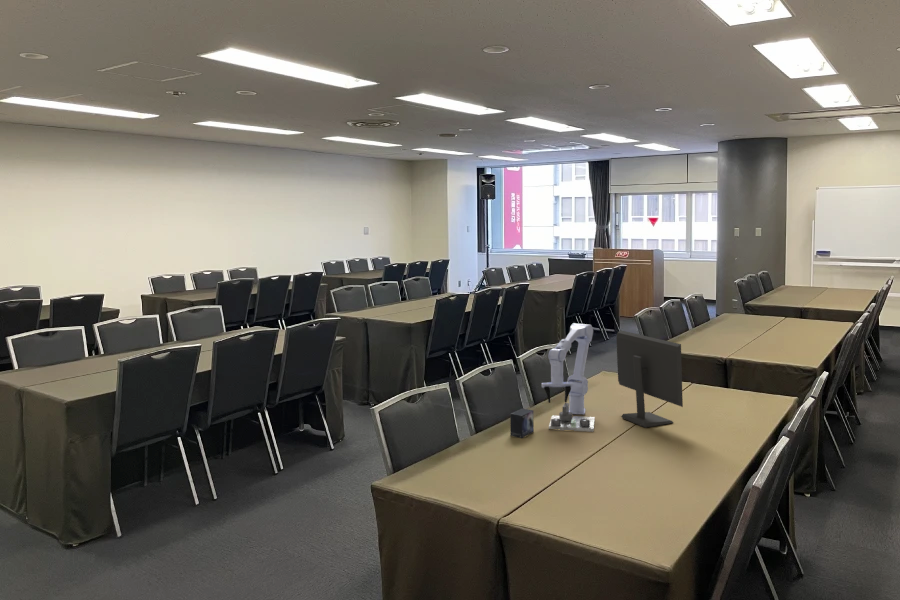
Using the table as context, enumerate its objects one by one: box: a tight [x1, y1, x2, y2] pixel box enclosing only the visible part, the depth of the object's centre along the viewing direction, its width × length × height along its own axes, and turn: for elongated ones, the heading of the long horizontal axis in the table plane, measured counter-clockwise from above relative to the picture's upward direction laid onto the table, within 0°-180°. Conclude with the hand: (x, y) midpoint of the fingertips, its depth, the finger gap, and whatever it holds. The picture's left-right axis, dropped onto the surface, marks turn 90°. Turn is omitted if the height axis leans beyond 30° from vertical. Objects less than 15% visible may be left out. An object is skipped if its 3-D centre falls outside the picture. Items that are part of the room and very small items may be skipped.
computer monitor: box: [616, 330, 684, 429], centre depth 313 cm, size 44×16×40 cm, turn 22°
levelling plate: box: [548, 414, 596, 433], centre depth 313 cm, size 18×20×4 cm
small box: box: [509, 407, 534, 439], centre depth 301 cm, size 11×6×10 cm, turn 143°
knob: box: [558, 402, 573, 421], centre depth 317 cm, size 6×12×7 cm, turn 160°
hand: (557, 402), depth 318 cm, fingers open, 7 cm apart
